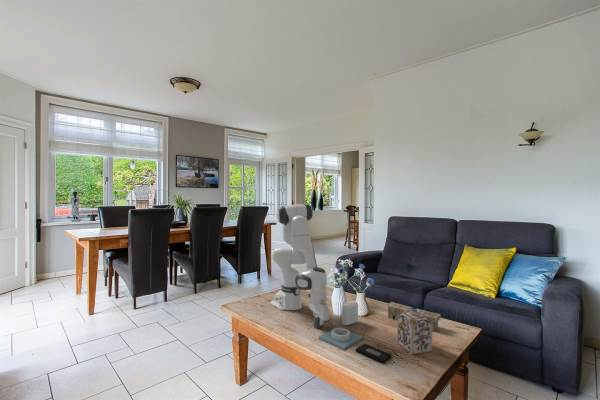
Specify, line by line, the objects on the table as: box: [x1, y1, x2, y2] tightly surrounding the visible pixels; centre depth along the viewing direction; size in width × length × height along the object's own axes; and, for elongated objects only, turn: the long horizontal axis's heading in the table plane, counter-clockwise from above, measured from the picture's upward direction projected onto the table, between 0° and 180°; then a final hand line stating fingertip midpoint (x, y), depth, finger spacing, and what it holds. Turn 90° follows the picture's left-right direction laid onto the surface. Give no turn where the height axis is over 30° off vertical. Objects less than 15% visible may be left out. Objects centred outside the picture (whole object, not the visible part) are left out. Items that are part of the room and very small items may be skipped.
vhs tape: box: [355, 343, 393, 365], centre depth 137 cm, size 8×14×2 cm, turn 44°
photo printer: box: [341, 300, 359, 326], centre depth 171 cm, size 10×4×12 cm, turn 123°
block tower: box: [387, 301, 442, 332], centre depth 173 cm, size 8×8×29 cm
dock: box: [318, 326, 364, 351], centre depth 152 cm, size 16×16×4 cm
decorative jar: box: [396, 308, 433, 355], centre depth 144 cm, size 12×12×18 cm
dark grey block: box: [313, 314, 324, 330], centre depth 166 cm, size 5×5×6 cm
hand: (318, 322), depth 166 cm, fingers open, 5 cm apart
